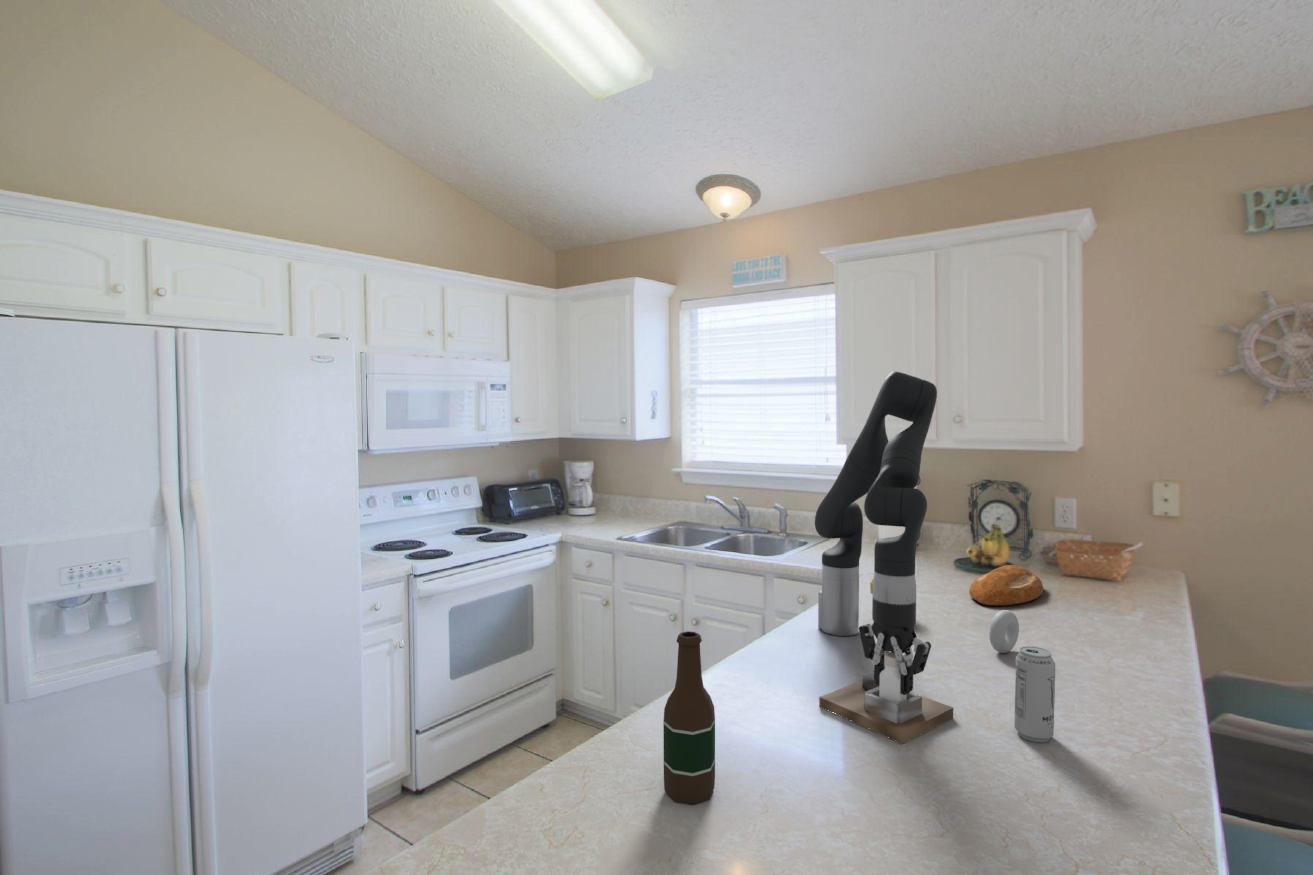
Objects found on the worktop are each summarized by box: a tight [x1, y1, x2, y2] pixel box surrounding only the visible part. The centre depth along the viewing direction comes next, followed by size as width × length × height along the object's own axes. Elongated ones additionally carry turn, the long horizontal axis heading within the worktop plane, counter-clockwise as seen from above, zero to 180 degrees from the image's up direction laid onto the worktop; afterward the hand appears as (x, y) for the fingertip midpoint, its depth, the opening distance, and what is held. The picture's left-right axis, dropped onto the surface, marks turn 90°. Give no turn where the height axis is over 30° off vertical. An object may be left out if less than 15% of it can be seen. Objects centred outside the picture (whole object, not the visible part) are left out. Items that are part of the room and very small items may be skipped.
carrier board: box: [818, 672, 954, 745], centre depth 128 cm, size 18×16×5 cm
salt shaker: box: [879, 651, 907, 704], centre depth 124 cm, size 4×4×10 cm
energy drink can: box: [1013, 646, 1056, 743], centre depth 119 cm, size 6×6×15 cm
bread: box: [968, 564, 1044, 606], centre depth 207 cm, size 18×35×9 cm, turn 133°
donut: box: [989, 609, 1020, 654], centre depth 159 cm, size 10×4×10 cm, turn 128°
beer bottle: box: [663, 631, 716, 806], centre depth 102 cm, size 8×8×24 cm
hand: (892, 688), depth 124 cm, fingers closed on salt shaker, 4 cm apart
